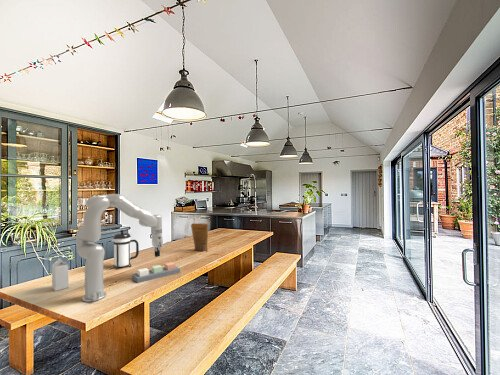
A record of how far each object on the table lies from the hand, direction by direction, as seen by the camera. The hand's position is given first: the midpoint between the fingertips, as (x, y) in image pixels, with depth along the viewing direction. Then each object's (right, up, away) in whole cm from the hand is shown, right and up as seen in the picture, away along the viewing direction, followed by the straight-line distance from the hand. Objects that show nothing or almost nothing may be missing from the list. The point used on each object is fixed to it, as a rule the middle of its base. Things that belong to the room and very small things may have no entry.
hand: (157, 256), depth 189 cm
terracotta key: (+7, -12, +6) cm, 16 cm away
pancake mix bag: (+18, -14, +70) cm, 74 cm away
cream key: (-8, -13, -7) cm, 16 cm away
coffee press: (-35, -14, +22) cm, 44 cm away
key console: (0, -14, 0) cm, 14 cm away
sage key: (0, -13, 0) cm, 13 cm away
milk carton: (-55, -15, -23) cm, 61 cm away
